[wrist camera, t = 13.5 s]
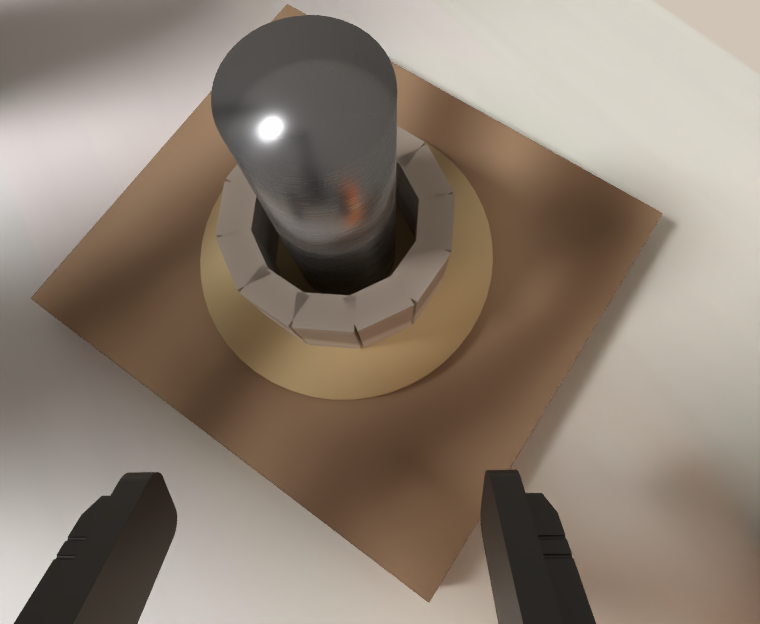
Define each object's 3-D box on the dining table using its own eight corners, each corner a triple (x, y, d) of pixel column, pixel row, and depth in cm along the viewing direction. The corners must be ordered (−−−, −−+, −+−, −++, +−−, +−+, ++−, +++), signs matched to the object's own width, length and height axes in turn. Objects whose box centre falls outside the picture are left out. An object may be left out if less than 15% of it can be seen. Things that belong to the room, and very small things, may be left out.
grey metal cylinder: (295, 300, 19) (202, 177, 10) (299, 208, 20) (218, 17, 11) (395, 299, 19) (398, 174, 10) (394, 207, 20) (396, 13, 11)
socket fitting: (55, 307, 21) (-58, 267, 16) (293, 28, 25) (265, -82, 19) (426, 588, 18) (439, 655, 13) (644, 227, 21) (727, 162, 16)
